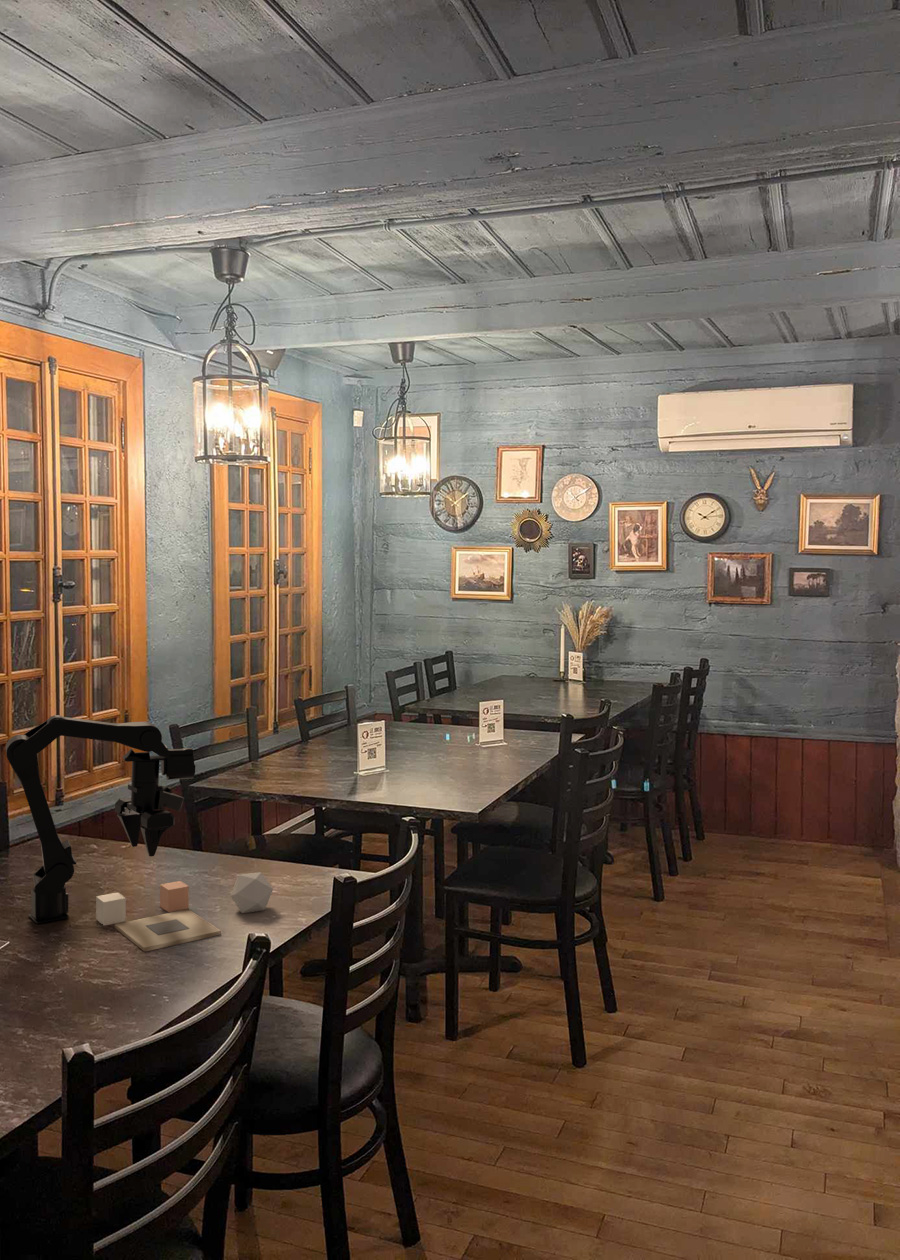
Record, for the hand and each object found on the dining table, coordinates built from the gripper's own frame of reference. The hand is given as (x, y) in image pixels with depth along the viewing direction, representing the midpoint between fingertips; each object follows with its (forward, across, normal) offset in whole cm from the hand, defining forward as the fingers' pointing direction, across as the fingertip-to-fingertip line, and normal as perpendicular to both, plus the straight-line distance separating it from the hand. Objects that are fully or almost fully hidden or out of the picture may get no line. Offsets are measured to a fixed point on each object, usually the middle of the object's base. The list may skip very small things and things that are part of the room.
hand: (143, 851), depth 221 cm
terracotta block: (+12, -5, -6) cm, 14 cm away
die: (+12, -16, -18) cm, 27 cm away
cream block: (+13, -4, +8) cm, 16 cm away
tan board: (+12, -18, +2) cm, 22 cm away
